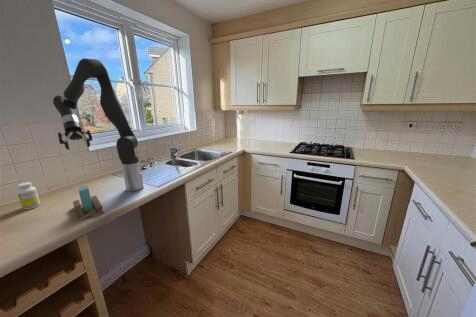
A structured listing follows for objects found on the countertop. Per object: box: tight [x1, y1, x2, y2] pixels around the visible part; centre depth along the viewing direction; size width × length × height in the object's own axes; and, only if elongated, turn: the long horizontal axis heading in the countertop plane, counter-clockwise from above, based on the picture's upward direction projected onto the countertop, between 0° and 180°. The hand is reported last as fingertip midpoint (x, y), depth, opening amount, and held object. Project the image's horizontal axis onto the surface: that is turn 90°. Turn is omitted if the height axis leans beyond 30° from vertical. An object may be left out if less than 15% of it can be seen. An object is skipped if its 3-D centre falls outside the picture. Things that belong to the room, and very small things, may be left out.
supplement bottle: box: [16, 181, 41, 210], centre depth 102 cm, size 7×7×13 cm
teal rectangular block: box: [77, 185, 93, 212], centre depth 98 cm, size 4×5×11 cm, turn 43°
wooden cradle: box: [72, 194, 105, 222], centre depth 99 cm, size 10×17×4 cm, turn 43°
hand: (78, 147), depth 107 cm, fingers open, 8 cm apart
